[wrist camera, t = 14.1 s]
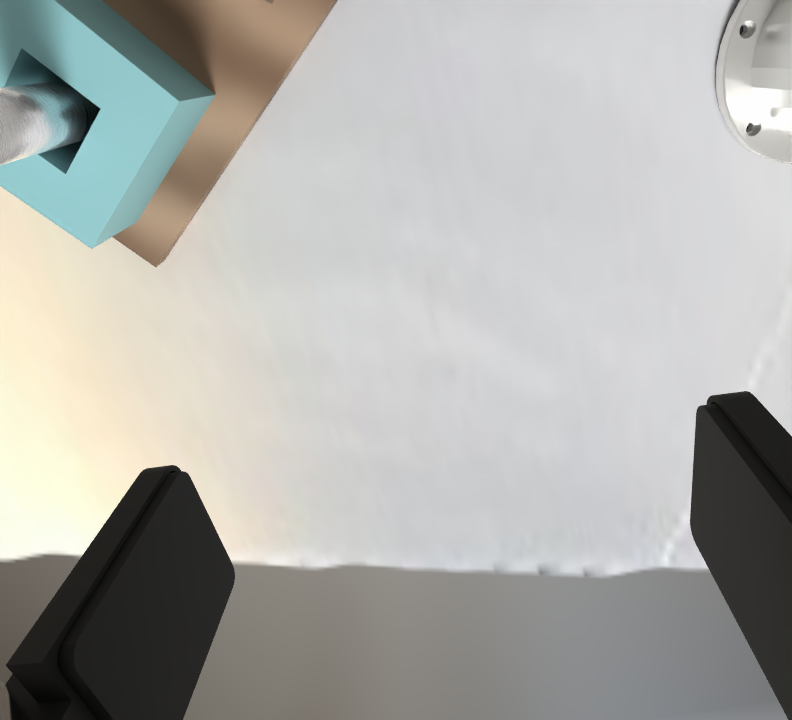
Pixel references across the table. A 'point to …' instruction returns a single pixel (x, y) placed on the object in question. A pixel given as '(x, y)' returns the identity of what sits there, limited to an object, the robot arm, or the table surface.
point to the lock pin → (42, 118)
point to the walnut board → (215, 92)
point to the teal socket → (116, 121)
